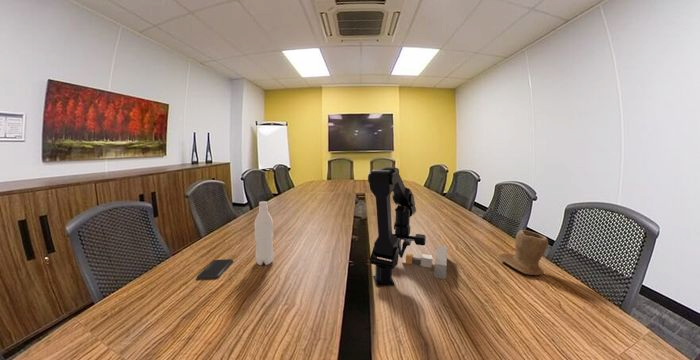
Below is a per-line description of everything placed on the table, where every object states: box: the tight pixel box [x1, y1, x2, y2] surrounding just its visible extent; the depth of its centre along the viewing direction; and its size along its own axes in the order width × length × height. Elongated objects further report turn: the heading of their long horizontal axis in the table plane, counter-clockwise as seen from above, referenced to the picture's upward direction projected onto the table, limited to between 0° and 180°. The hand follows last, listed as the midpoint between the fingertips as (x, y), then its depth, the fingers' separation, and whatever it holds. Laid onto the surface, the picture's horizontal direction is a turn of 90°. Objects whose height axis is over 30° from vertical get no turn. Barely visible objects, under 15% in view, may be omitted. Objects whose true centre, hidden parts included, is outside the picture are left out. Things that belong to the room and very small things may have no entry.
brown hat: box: [497, 229, 549, 276], centre depth 101 cm, size 15×12×15 cm
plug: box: [405, 253, 433, 268], centre depth 105 cm, size 10×4×4 cm, turn 69°
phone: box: [196, 258, 234, 280], centre depth 99 cm, size 8×1×15 cm
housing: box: [433, 245, 448, 280], centre depth 102 cm, size 4×20×5 cm, turn 159°
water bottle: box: [253, 200, 275, 266], centre depth 104 cm, size 7×7×25 cm
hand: (401, 257), depth 107 cm, fingers closed
